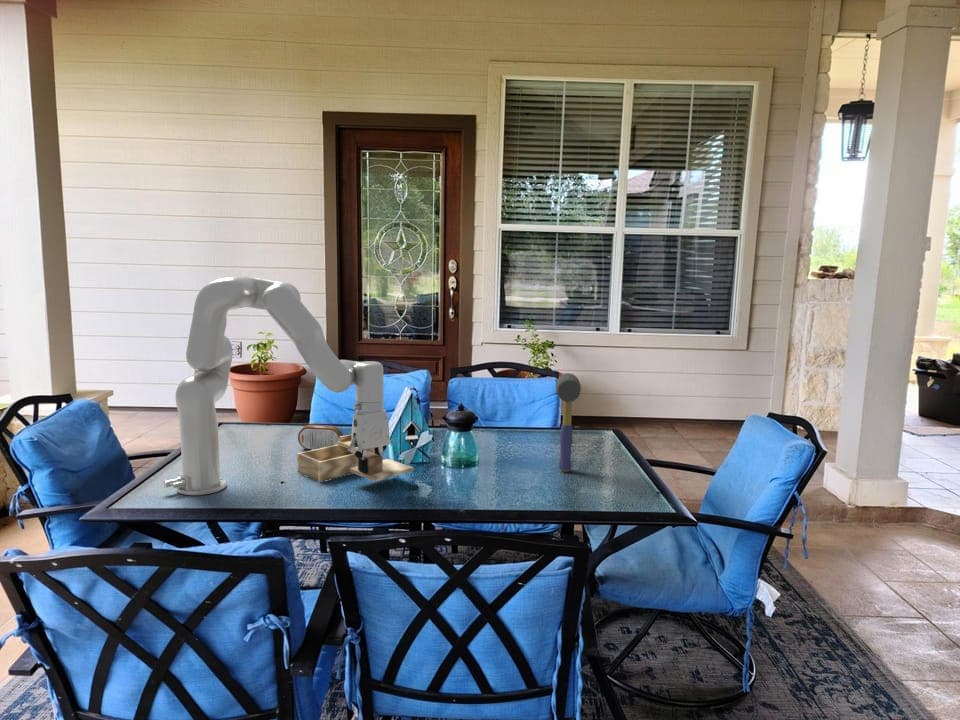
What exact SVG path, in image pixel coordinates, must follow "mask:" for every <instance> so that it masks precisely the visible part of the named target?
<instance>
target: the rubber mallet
mask: <svg viewBox="0 0 960 720" xmlns="http://www.w3.org/2000/svg"><path fill="white" fill-rule="evenodd" d="M581 387H582V386H581V383H580V380H579V379H578V377H577V376H576V375H575V374H573V373H570V372H569V373H563V374H561V375H560V376H559V377H558V379H557V381H556V384H555V391H556V394H557V395H558V398H559V399H560V400H562V401H563V415H562V424H561V427H560V435H559V446H560V450H559V451H560V453H559V455H560V456H559V462H558V468H559V469H560V471H561V472H570V471H571V469H572V460H571V457H572V455H571V454H572V445H573V426H572V411H573V410H572V409H573V408H572V407H573V405H572V404H573V402H574V401H576V400H577V399H578V398H579V397H580V394H581V389H582V388H581Z"/></svg>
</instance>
